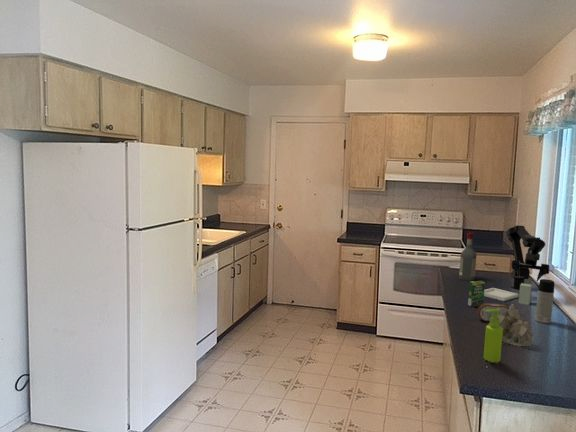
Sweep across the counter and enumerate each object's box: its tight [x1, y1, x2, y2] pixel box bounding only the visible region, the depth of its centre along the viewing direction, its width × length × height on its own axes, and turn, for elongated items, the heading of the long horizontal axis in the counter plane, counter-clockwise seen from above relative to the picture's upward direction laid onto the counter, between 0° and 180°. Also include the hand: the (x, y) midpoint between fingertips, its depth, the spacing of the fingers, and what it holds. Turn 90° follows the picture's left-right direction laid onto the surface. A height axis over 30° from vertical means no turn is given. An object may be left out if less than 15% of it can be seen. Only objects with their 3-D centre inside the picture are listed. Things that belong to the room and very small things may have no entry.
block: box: [518, 283, 532, 306], centre depth 262 cm, size 5×5×10 cm
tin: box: [476, 302, 509, 322], centre depth 229 cm, size 15×3×8 cm, turn 84°
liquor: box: [458, 232, 477, 282], centre depth 310 cm, size 9×9×30 cm
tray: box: [484, 287, 519, 302], centre depth 274 cm, size 15×15×2 cm
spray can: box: [534, 278, 555, 324], centre depth 231 cm, size 7×7×20 cm
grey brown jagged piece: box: [487, 303, 534, 347], centre depth 204 cm, size 16×16×15 cm
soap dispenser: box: [483, 309, 503, 362], centre depth 182 cm, size 6×7×20 cm
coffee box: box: [467, 280, 486, 308], centre depth 253 cm, size 8×3×13 cm, turn 107°
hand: (527, 279), depth 265 cm, fingers open, 9 cm apart
